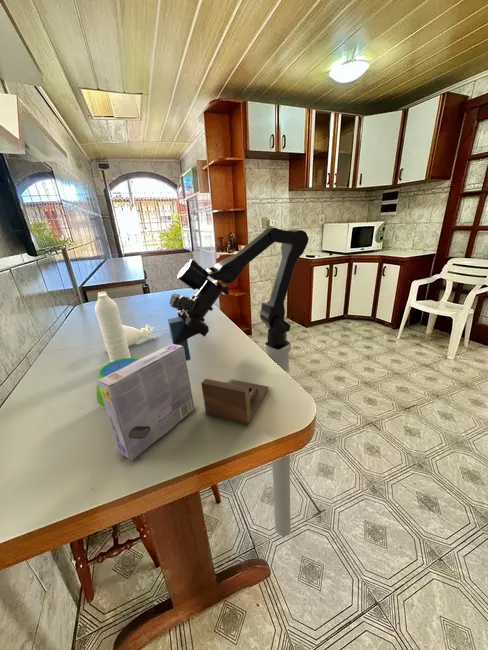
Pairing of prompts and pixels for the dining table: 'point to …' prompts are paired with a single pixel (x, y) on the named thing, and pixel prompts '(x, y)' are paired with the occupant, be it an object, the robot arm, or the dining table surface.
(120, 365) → the snack cup
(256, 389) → the pad seat
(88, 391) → the dining table surface
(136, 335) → the rocket engine
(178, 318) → the back pad
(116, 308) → the water bottle
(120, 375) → the cake pan box
